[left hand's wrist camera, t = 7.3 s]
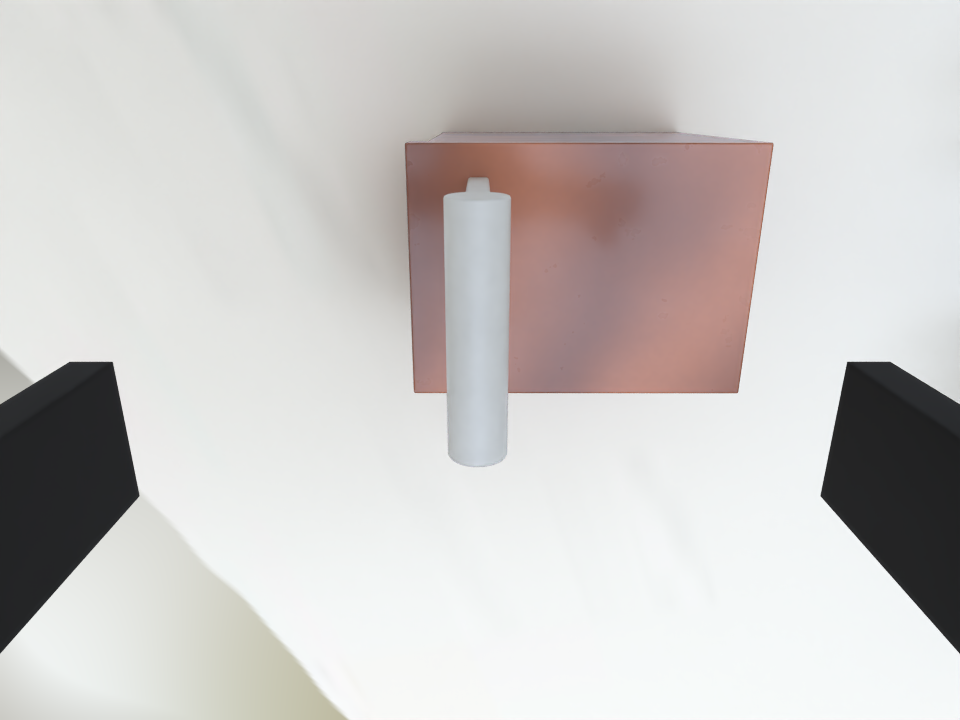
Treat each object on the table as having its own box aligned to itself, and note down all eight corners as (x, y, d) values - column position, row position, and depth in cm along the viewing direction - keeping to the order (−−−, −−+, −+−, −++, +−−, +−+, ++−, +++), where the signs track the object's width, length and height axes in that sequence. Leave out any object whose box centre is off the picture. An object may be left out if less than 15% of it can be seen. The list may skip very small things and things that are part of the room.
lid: (416, 383, 26) (388, 498, 19) (407, 141, 23) (370, 157, 15) (728, 383, 26) (834, 498, 19) (762, 141, 23) (905, 156, 15)
